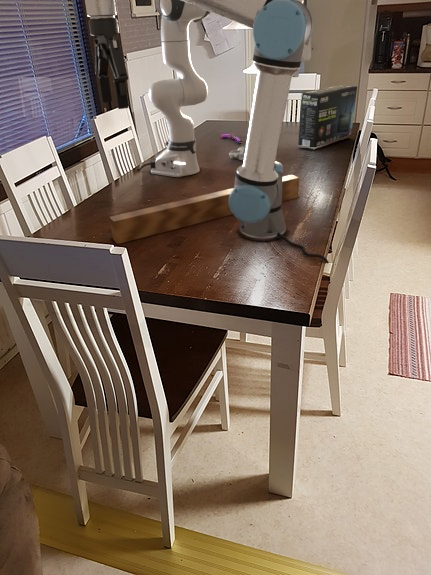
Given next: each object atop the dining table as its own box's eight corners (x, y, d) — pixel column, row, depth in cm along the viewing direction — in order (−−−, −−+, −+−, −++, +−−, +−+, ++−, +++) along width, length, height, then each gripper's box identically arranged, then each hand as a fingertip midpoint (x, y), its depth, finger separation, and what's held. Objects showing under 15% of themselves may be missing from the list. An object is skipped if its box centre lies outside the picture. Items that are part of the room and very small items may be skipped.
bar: (117, 244, 146) (113, 221, 142) (112, 239, 149) (109, 216, 145) (298, 197, 176) (299, 177, 172) (290, 194, 179) (291, 174, 175)
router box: (314, 151, 231) (318, 94, 217) (296, 148, 237) (299, 92, 224) (352, 138, 251) (358, 85, 238) (335, 135, 258) (340, 83, 245)
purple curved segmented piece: (221, 137, 264) (220, 133, 263) (234, 136, 265) (233, 132, 264) (228, 145, 247) (228, 142, 246) (242, 144, 248) (242, 140, 247)
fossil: (256, 156, 213) (234, 135, 216) (244, 175, 219) (223, 154, 222) (274, 153, 226) (253, 134, 229) (261, 171, 233) (241, 152, 236)
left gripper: (317, 27, 139) (314, 77, 146) (277, 27, 154) (275, 72, 162) (301, 28, 136) (298, 79, 144) (261, 28, 152) (261, 74, 159)
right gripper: (134, 16, 110) (144, 109, 121) (101, 17, 129) (113, 98, 140) (104, 17, 107) (117, 113, 118) (75, 18, 126) (89, 100, 137)
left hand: (286, 75), depth 153 cm, fingers open, 8 cm apart
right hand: (115, 105), depth 129 cm, fingers open, 13 cm apart
